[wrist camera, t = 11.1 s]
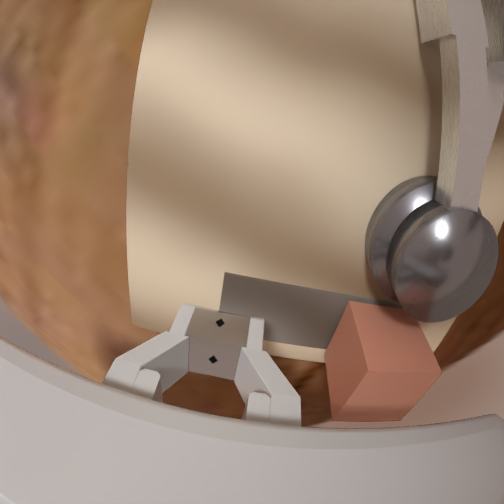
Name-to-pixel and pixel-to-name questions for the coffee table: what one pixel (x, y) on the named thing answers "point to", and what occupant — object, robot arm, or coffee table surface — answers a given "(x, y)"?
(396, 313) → the salmon pink block
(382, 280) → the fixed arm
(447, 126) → the tong arm
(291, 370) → the coffee table surface
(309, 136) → the board
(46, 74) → the coffee table surface
